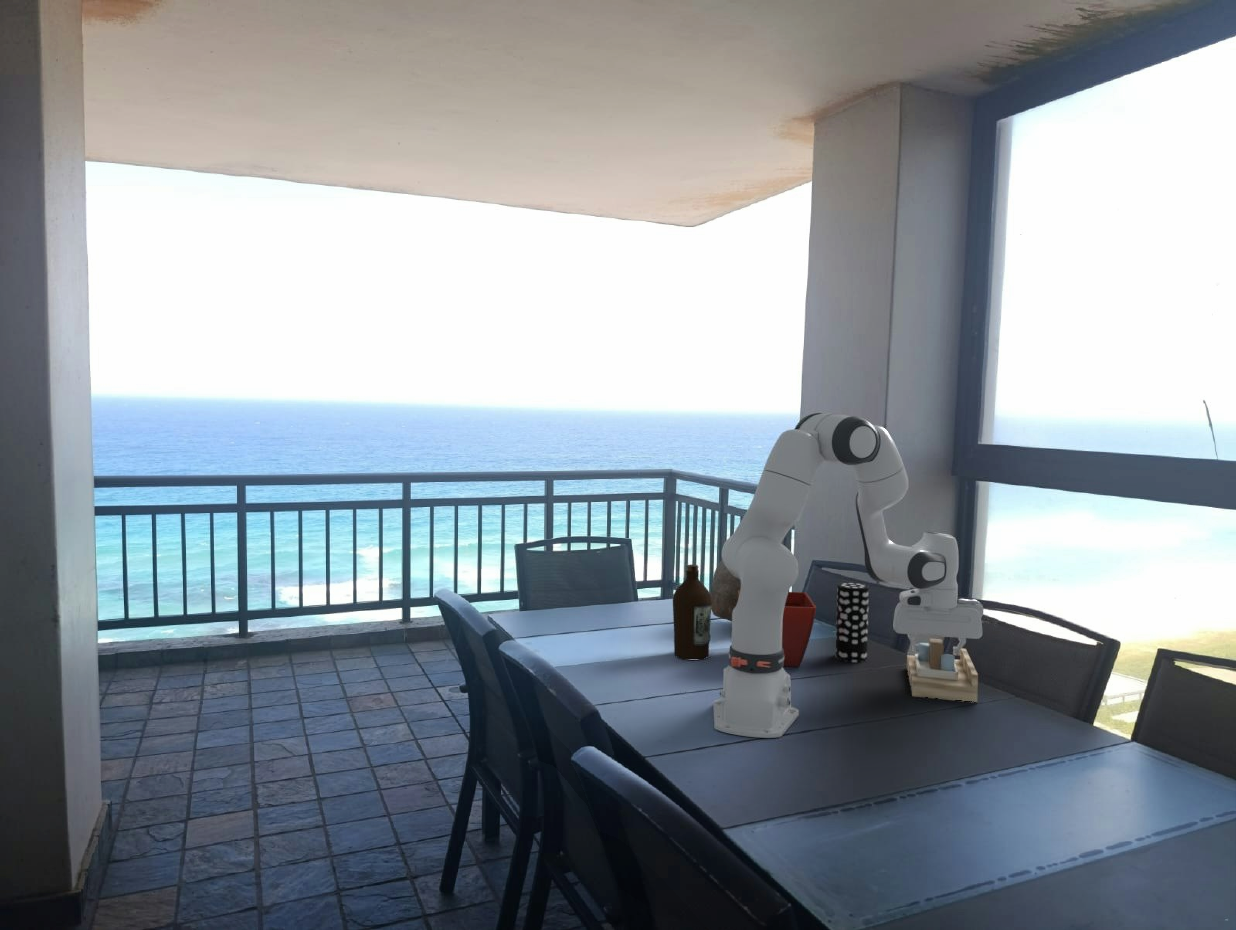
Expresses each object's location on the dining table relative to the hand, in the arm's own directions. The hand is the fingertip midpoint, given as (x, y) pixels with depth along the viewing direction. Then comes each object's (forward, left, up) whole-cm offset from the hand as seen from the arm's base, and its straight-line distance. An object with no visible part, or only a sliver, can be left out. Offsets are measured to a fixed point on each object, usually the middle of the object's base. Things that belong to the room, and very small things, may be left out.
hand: (936, 653), depth 192 cm
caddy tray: (0, 0, -4) cm, 4 cm away
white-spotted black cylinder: (+16, +20, -8) cm, 27 cm away
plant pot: (+8, +40, -8) cm, 42 cm away
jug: (+37, +52, -8) cm, 64 cm away
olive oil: (+4, +62, -8) cm, 63 cm away
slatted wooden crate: (0, -1, -8) cm, 8 cm away
